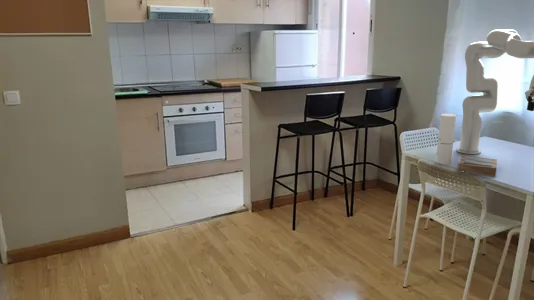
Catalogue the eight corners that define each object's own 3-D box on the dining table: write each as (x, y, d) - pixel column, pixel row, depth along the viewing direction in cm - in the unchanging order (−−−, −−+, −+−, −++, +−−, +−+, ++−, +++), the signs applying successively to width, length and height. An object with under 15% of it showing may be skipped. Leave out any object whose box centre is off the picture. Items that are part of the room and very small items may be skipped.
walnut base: (460, 162, 215) (461, 154, 214) (495, 167, 208) (497, 158, 207) (457, 171, 202) (458, 163, 200) (495, 176, 194) (496, 167, 193)
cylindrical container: (445, 159, 220) (450, 113, 214) (453, 163, 214) (459, 115, 207) (433, 160, 219) (437, 114, 212) (441, 164, 212) (446, 116, 206)
